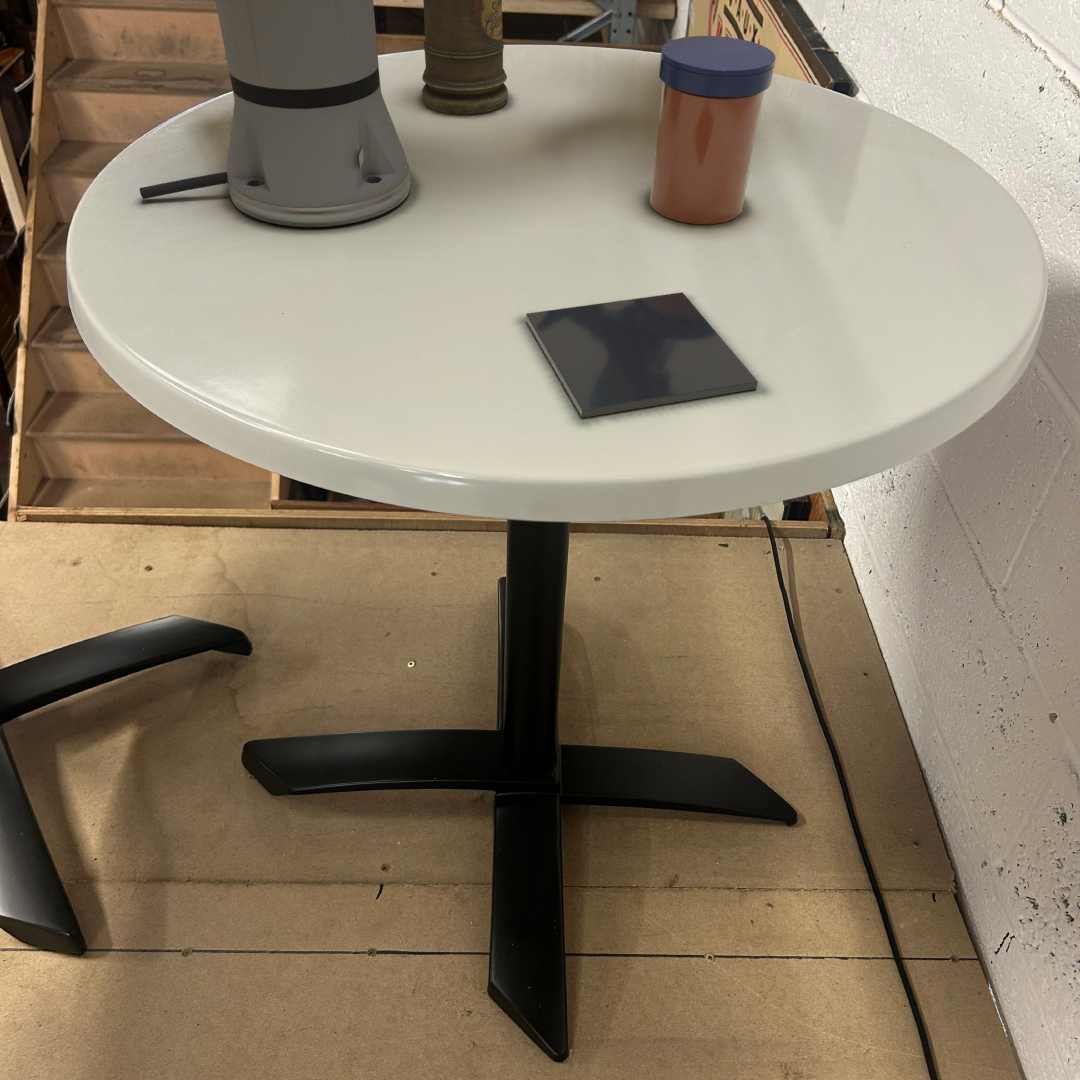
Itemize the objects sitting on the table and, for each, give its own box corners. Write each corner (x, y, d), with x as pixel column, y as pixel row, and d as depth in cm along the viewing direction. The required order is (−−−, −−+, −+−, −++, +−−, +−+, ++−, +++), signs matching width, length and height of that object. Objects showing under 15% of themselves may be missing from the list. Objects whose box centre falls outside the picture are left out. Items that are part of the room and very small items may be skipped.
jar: (661, 226, 76) (679, 76, 68) (641, 186, 82) (655, 44, 74) (753, 223, 77) (782, 75, 69) (727, 184, 83) (751, 43, 75)
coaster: (581, 418, 56) (582, 410, 56) (525, 320, 64) (525, 313, 64) (756, 389, 59) (758, 381, 59) (681, 299, 67) (682, 291, 67)
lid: (672, 98, 69) (675, 71, 67) (647, 61, 75) (649, 36, 74) (785, 96, 70) (791, 69, 68) (751, 60, 76) (756, 35, 75)
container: (420, 114, 93) (407, -99, 81) (425, 85, 100) (414, -116, 87) (508, 116, 93) (509, -96, 81) (507, 87, 100) (508, -114, 88)
